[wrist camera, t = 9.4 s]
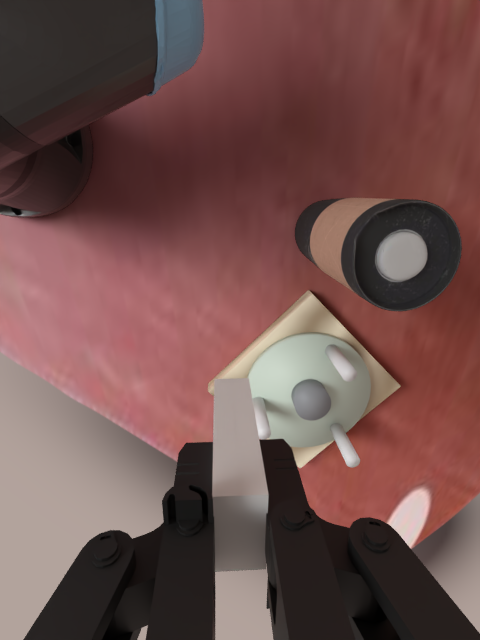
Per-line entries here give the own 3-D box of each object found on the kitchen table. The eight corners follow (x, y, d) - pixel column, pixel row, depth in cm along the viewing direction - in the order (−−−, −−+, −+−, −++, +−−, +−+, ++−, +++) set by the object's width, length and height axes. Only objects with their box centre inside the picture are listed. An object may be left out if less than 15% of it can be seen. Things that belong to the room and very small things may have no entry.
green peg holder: (291, 461, 51) (303, 505, 43) (219, 382, 46) (219, 416, 39) (389, 396, 48) (419, 431, 41) (323, 306, 44) (344, 328, 36)
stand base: (208, 383, 49) (207, 396, 46) (308, 289, 45) (315, 296, 42) (298, 459, 53) (303, 475, 50) (395, 380, 50) (406, 392, 47)
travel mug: (358, 257, 44) (463, 302, 25) (296, 269, 44) (355, 323, 25) (353, 191, 42) (465, 187, 23) (287, 204, 42) (345, 210, 23)
